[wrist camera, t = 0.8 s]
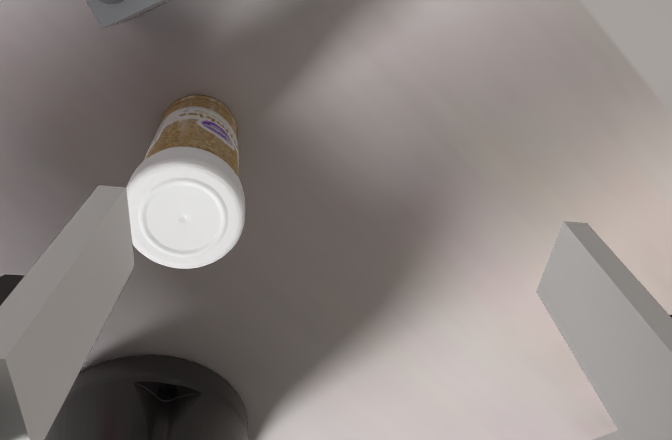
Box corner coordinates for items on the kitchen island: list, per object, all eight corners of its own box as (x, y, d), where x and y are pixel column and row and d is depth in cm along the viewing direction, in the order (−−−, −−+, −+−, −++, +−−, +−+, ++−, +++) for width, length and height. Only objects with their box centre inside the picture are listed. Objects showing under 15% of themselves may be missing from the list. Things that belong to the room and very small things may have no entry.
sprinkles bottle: (248, 110, 31) (264, 185, 19) (222, 177, 32) (223, 286, 20) (173, 80, 30) (138, 141, 17) (149, 151, 31) (103, 254, 19)
